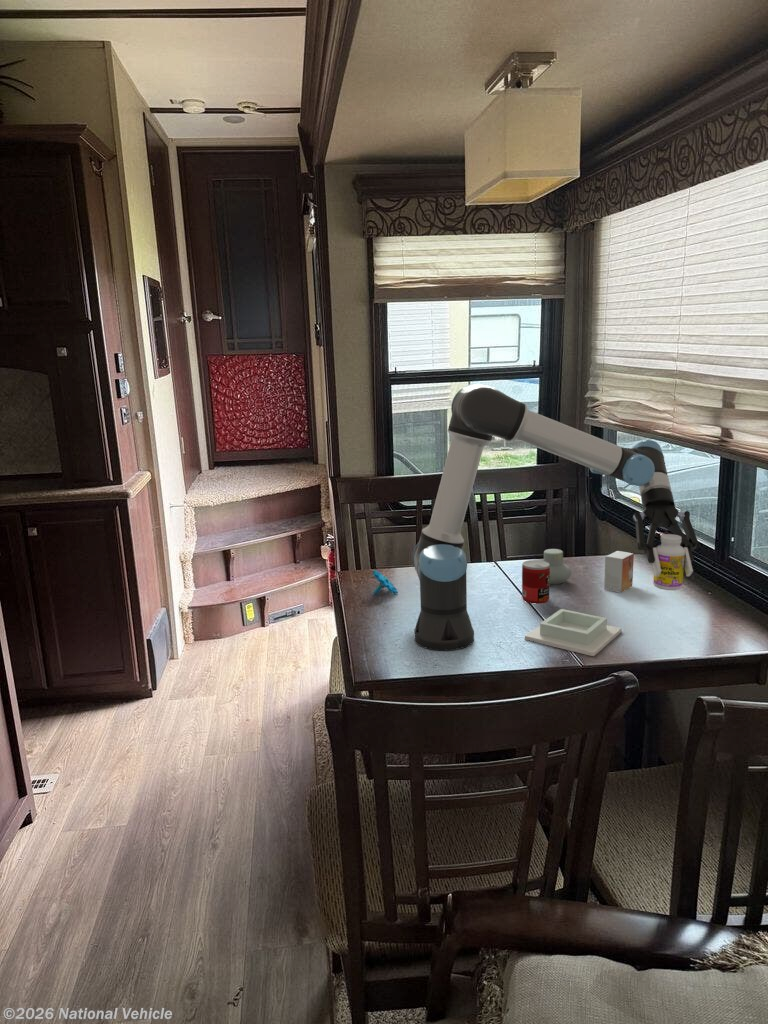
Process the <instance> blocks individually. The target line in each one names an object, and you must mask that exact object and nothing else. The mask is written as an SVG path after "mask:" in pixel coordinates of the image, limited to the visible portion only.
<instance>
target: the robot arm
mask: <svg viewBox="0 0 768 1024" xmlns="http://www.w3.org/2000/svg"><path fill="white" fill-rule="evenodd" d="M450 406H451V408H450V409H451V416H450V420H449V424H448V429H447V432H448V434H449V436H450V439H451V440H450V444H449V447H448V451H447V455H446V459H445V463H444V466H443V467H444V468H443V470H442V475H441V479H440V483H439V486H438V490H437V492H436V493H437V494H436V498H435V501H434V506H433V509H432V513H431V518H430V520H429V524H428V525H427V526H425V527H424V528H422V529H421V533H420V536H419V541H418V542H417V544H416V545H415V547H414V549H413V552H412V563H413V567H414V569H415V571H416V574H417V577H418V580H419V591H420V593H419V596H420V597H419V598H420V599H419V600H420V612H419V615H418V619H417V621H416V625H415V628H414V642H415V643H416V644H417V645H418V646H420V647H422V648H425V649H428V650H433V651H455V650H461V649H463V648H467V647H469V646H471V644H473V643H474V641H475V630H474V628H473V625H472V621H471V618H470V616H469V613H468V609H467V608H468V607H467V606H468V604H467V601H468V599H467V597H468V596H467V593H468V592H467V590H468V589H467V588H468V587H467V568H468V561H467V556H466V553H465V552H464V551H463V547H464V543H465V540H464V538H463V536H462V534H461V532H462V528H463V524H464V520H465V517H466V513H467V510H468V507H469V502H470V499H471V496H472V495H471V494H472V492H473V488H474V483H475V480H476V476H477V473H478V469H479V466H480V461H481V457H482V454H483V451H484V447H485V446H487V445H488V444H490V443H492V440H493V437H496V438H500V439H503V440H505V441H508V442H512V441H514V440H517V441H519V442H522V443H524V444H527V445H530V446H532V447H535V448H538V449H541V450H543V451H546V452H547V453H550V454H553V455H556V456H558V457H560V458H563V459H565V460H569V461H571V462H573V463H577V464H579V465H582V466H583V467H586V468H589V471H590V472H591V474H596V475H600V476H602V475H605V476H606V475H607V476H609V477H611V478H614V479H617V480H618V481H623V482H624V483H626V484H629V485H631V486H637V487H638V488H639V493H640V494H639V495H640V497H641V498H640V499H641V503H642V509H643V511H642V512H639V511H635V512H634V514H633V516H632V520H633V523H634V524H635V535H636V548H637V550H638V551H644V554H646V557H647V562H648V563H649V564H652V567H653V568H652V569H653V574H654V573H655V577H658V576H659V575H660V573H661V567H660V562H659V558H658V553H657V548H656V547H654V542H655V536H656V533H657V528H660V527H663V528H667V529H668V531H670V532H671V534H674V535H679V536H681V537H682V539H681V541H682V542H681V544H680V546H681V547H683V548H684V550H685V558H684V573H685V576H686V577H690V576H691V575H692V574H693V572H694V569H693V565H692V563H693V562H694V559H695V558H694V554H693V551H694V550H695V549H697V547H698V545H699V541H698V538H697V535H696V532H695V530H694V527H693V524H692V522H691V519H690V518H691V517H690V515H691V512H690V511H688V510H686V511H685V512H682V511H679V510H678V508H676V504H675V499H674V496H673V492H672V487H671V484H670V478H669V476H668V475H669V474H668V471H667V466H666V462H665V456H664V453H663V451H662V447H661V445H660V444H659V442H657V441H655V440H652V439H646V440H645V441H643V440H642V441H638V442H636V443H635V444H634V445H633V446H632V448H631V447H630V448H628V447H622V446H620V445H618V444H615V443H612V442H610V441H607V440H605V439H602V438H600V437H598V436H594V435H592V434H590V433H588V432H585V431H582V430H580V429H577V428H576V427H575V428H574V427H572V426H570V425H567V424H564V423H563V422H560V421H557V420H555V419H553V418H549V417H547V416H544V415H542V414H540V413H537V412H534V411H532V410H530V409H528V406H527V404H526V403H524V402H521V401H519V400H516V399H514V398H513V397H511V396H509V395H508V394H505V393H504V392H502V391H501V390H498V389H497V388H496V387H493V386H490V385H484V384H482V383H471V384H468V385H465V386H463V387H461V388H460V389H459V390H458V391H457V392H456V393H455V395H454V397H453V398H452V402H451V405H450ZM676 518H678V519H679V522H681V525H682V528H683V530H682V528H681V527H680V526H679V522H678V520H677V519H676ZM644 519H646V521H648V523H649V524H650V525H649V530H648V534H647V540H645V532H644V531H645V528H644V521H643V520H644ZM645 541H646V542H645Z"/></svg>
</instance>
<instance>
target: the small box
mask: <svg viewBox="0 0 768 1024" xmlns="http://www.w3.org/2000/svg"><path fill="white" fill-rule="evenodd" d="M634 556H635V555H634V553H633V552H632V553H631V552H627V551H621V550H616V551H614V552H612V553H609V554H608V555H605V556H604V580H603V585H604V588H603V589H604V590H606V589H607V591H611V590H612V592H618V593H624V591H626V590H628V589H630V588H632V587H633V581H634V580H633V579H634V560H635V559H634Z"/></svg>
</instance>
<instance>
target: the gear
mask: <svg viewBox="0 0 768 1024" xmlns="http://www.w3.org/2000/svg"><path fill="white" fill-rule="evenodd" d="M372 574H373V576H374V577H375V578H376V580H377V582H379V584H378V585H377V587H376V588H375V590H374V591H373V592H372V593H373V594H374V595H376V596H377V594H378V593H379V592H380V591H381V590H382V589H384V588H387V590H388V591H389V592H390V593H392V594H393V595H397V594H398V593H399V591H398V590H397V588H396V587H395V586H394V584H393V583H392V582H390V581H389V578H387V576H386V575H383V574H382V573H381V572H380V571H378V570H376V569H374V570H373V571H372Z"/></svg>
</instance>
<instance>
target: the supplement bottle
mask: <svg viewBox="0 0 768 1024" xmlns="http://www.w3.org/2000/svg"><path fill="white" fill-rule="evenodd" d="M681 539H682V537H681V536H679V535H674V534H672V533H666V534H661V535H660V542H661V544H659V545H657V546H656V547H655V548H657V553H658V558H659V562H660V567H661V573H660V575H659V576H658V577H655V573H654V572H653V581H652V582H653V586H654V587H656V588H657V589H659V590H664V591H678V590H680V589H682V588H683V584H684V583H683V582H684V573H685V568H684V558H685V550H684V548H683V547H681V546H680V544H681V542H682V541H681Z"/></svg>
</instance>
